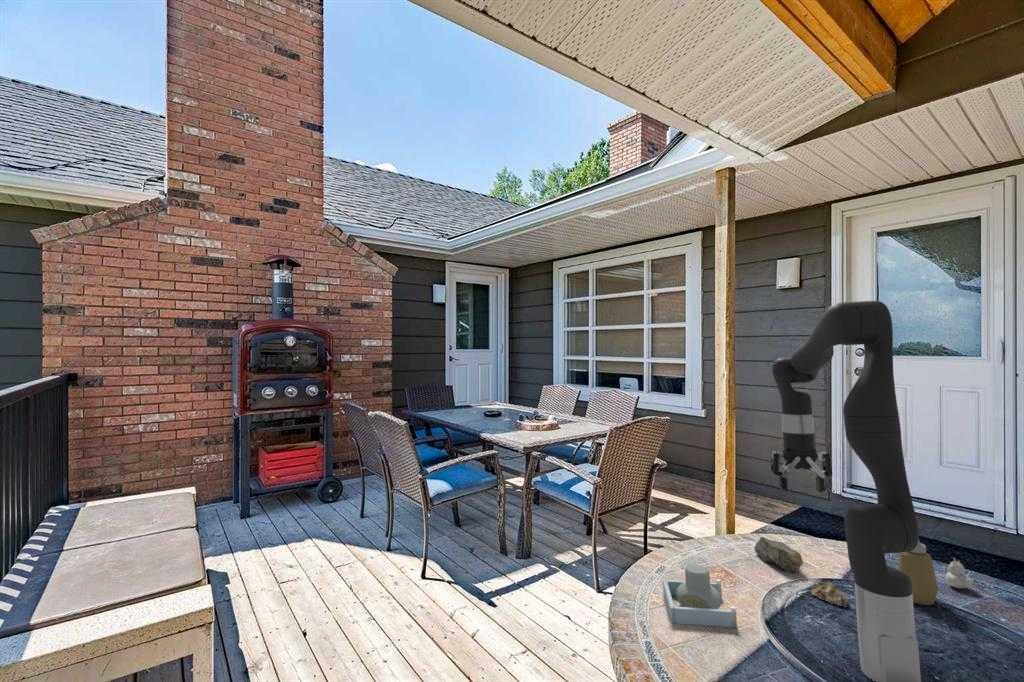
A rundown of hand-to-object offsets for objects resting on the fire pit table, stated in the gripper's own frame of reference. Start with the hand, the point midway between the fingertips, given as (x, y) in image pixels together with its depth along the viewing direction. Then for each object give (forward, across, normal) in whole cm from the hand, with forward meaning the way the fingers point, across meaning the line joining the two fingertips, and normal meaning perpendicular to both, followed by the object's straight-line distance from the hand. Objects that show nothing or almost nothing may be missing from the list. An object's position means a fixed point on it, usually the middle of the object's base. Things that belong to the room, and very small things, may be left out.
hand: (802, 491), depth 127 cm
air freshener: (+28, -30, -9) cm, 42 cm away
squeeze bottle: (+28, +27, +3) cm, 39 cm away
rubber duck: (+28, +42, +12) cm, 52 cm away
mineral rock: (+29, +6, +2) cm, 29 cm away
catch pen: (+28, -30, -10) cm, 43 cm away
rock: (+28, 0, +24) cm, 37 cm away
